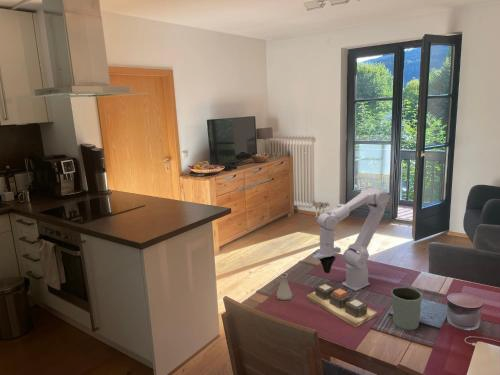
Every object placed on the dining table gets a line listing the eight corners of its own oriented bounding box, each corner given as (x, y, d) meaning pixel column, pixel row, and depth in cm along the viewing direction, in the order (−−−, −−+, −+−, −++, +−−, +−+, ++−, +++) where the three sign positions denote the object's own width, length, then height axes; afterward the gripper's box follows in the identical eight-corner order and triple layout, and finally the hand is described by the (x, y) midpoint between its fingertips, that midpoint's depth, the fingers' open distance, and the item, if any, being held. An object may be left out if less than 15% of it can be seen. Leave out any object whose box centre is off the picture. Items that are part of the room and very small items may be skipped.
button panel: (326, 289, 160) (326, 278, 159) (377, 315, 139) (377, 303, 138) (306, 298, 154) (306, 287, 153) (355, 327, 133) (356, 315, 131)
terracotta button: (339, 295, 148) (339, 288, 147) (346, 298, 145) (346, 291, 144) (333, 298, 146) (333, 291, 145) (340, 301, 143) (340, 294, 142)
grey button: (355, 306, 142) (355, 299, 141) (363, 310, 139) (363, 303, 138) (349, 309, 140) (349, 302, 139) (356, 313, 137) (356, 306, 136)
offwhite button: (325, 290, 155) (325, 283, 154) (331, 293, 152) (331, 287, 151) (319, 293, 153) (319, 286, 152) (325, 296, 150) (325, 289, 149)
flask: (292, 301, 152) (291, 279, 150) (274, 300, 153) (274, 278, 151) (293, 292, 159) (293, 271, 157) (277, 291, 160) (276, 270, 158)
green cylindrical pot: (417, 334, 127) (419, 303, 124) (387, 326, 132) (388, 296, 130) (422, 319, 135) (424, 289, 133) (393, 312, 141) (394, 283, 138)
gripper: (331, 235, 159) (331, 264, 162) (307, 243, 152) (307, 274, 155) (344, 239, 154) (344, 269, 157) (319, 248, 146) (319, 280, 149)
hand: (326, 272), depth 155 cm, fingers closed
